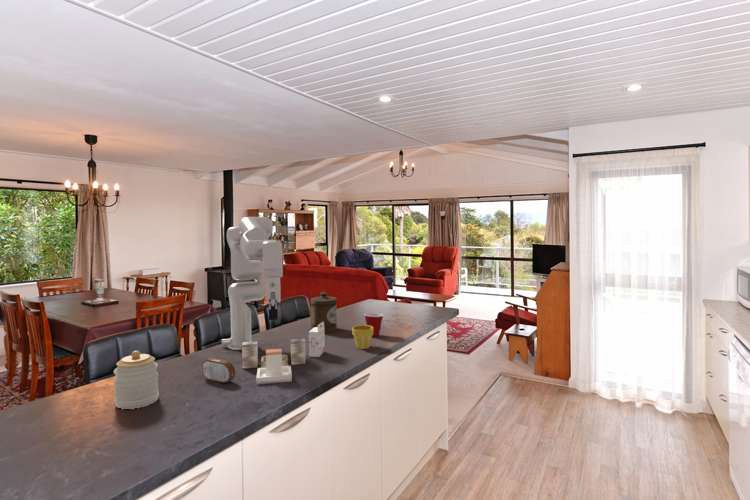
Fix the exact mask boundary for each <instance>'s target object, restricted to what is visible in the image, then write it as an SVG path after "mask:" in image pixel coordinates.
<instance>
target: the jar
mask: <svg viewBox="0 0 750 500" xmlns="http://www.w3.org/2000/svg"><path fill="white" fill-rule="evenodd" d="M155 360H156V357H154V356H152V355H150V354H147V353H141V352H140V351H139V350H134V351H132V352H131V355H128V356H124V357H122V358H121V359H119V361H117V362H116V363H115V365H116V366H117V367H115V369H114V370H113V374H114V375H115V379H114V380H113V383H114V394H115V395H114V403H115V408H117V407H118V409H119V408H121V409H120V410H124V409H130V410H136V409H135V408H137V409H141V407H142V408H145V407H148V406H150V404H151V405H153V404H154V403H156V402H157V401H158V400H159V395H160V394H159V393H160V391H159V378H158V377H159V373H158V372H157V368H158V367H159V365H158V363H157V362H155Z"/></svg>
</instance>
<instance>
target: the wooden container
mask: <svg viewBox="0 0 750 500" xmlns="http://www.w3.org/2000/svg"><path fill="white" fill-rule="evenodd" d="M319 294H320V296H315V297H311V298H310V317H309V318H310V320H309V321H310V324H309V325H310V326H309V327H310V330H312V329H313V328H315V327H318V325H319V324H320V323H322V322H324V334H328V333H329V332H330V333H334V332H336V331H337V329H338V326H337V324H338V323H337V322H338V321H337V320H338V319H337V317H338V316H337V314H338V313H337V297H334V296H328V295H327V292H326V291H322V292H320V293H319ZM320 327H322V325H321V326H320ZM310 330H309V331H310Z"/></svg>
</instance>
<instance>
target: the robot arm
mask: <svg viewBox="0 0 750 500" xmlns="http://www.w3.org/2000/svg"><path fill="white" fill-rule="evenodd" d="M273 226H274V225H273V222H272V220H271V219H270V217H267V216H246V217H245V216H244V217H243V218H242V219H240V221H239V222H238V225H237V226H232V227H229V228H228V229H227V231H226V241H227V245H228V247H229V249H230V273H231V277H232V279H233V280H235V281H240V282H235V283H232V284H230V285H229V287H228V289H227V294H228V300H229V306H230V309H229V310H230V338H222V339H221V344H223V345H226V344H227V348H228V349H229V350H232V351H233V350H235V351H242V343H243V342H254V341H253V340H252V311H251V308H250V307H249V306H248V305H247V302H255V301H256V302H257V301H261V300H263V299H264V298H265V295H266V300H267V304H268V320H269V321H276V320H278V304H280V303H281V299H282V298H281V278H282V277H283V276H284V274H283V271H284V270H283V268H284V267H283V243H282V242H281V241H279V240H275V239H269V237H270V236H272V233H273V230H274V227H273ZM245 280H247V281H248V280H254V281H248V282H247V281H245ZM241 281H243V282H241ZM277 303H278V304H277Z"/></svg>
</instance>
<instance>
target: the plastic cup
mask: <svg viewBox="0 0 750 500" xmlns="http://www.w3.org/2000/svg"><path fill="white" fill-rule="evenodd" d="M363 315H364V321H365V323H366V324H365V325H369V326H372V327H373V335H372V338H378V337H379V336H380V332H381V326H382V321H383V318H384V316H385V314H382V313H377V312H367V313H364V314H363Z"/></svg>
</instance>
